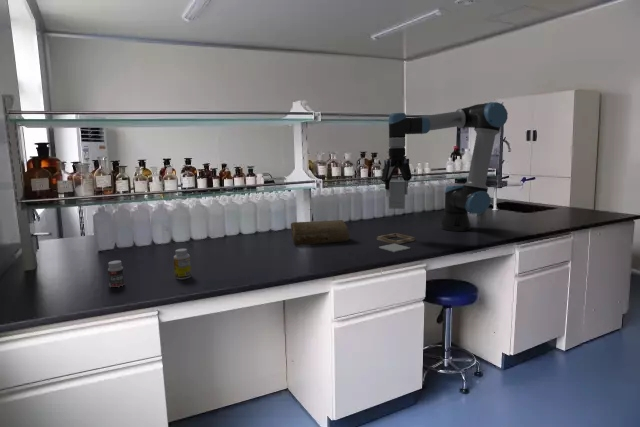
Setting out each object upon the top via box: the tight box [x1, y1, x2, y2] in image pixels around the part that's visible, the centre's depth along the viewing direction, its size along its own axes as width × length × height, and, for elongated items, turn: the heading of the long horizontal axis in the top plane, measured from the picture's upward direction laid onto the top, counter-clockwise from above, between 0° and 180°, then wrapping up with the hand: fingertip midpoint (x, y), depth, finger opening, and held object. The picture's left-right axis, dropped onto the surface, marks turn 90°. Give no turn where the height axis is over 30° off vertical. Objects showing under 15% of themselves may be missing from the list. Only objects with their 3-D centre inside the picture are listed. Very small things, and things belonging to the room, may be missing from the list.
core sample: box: [290, 219, 350, 246], centre depth 202 cm, size 14×26×10 cm, turn 104°
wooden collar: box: [376, 232, 416, 245], centre depth 203 cm, size 13×13×2 cm
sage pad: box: [378, 243, 411, 253], centre depth 188 cm, size 10×10×1 cm
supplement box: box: [388, 179, 406, 210], centre depth 199 cm, size 7×7×13 cm
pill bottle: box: [107, 259, 125, 288], centre depth 144 cm, size 5×5×8 cm
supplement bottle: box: [173, 248, 192, 280], centre depth 152 cm, size 6×6×10 cm
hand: (396, 195), depth 199 cm, fingers closed on supplement box, 10 cm apart
